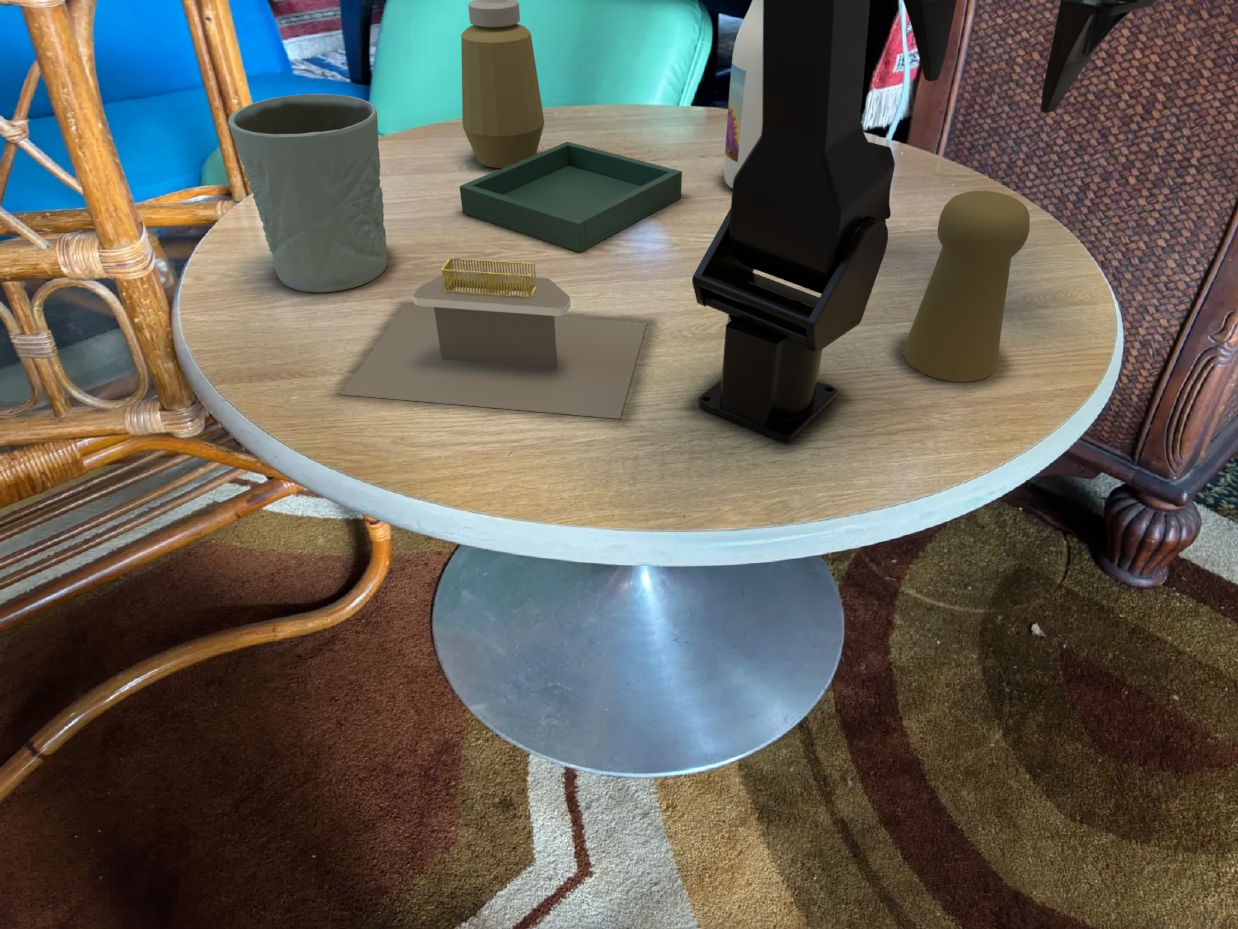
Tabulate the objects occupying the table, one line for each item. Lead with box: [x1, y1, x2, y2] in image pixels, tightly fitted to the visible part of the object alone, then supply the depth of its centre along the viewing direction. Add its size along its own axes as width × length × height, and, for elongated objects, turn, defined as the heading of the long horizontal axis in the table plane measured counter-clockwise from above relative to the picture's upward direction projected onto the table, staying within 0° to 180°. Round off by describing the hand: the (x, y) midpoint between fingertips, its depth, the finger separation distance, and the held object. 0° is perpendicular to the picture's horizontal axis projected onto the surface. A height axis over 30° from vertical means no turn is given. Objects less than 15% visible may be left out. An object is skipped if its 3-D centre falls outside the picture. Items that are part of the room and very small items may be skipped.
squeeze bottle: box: [460, 0, 545, 169], centre depth 85 cm, size 8×8×18 cm
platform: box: [340, 257, 647, 420], centre depth 58 cm, size 12×18×7 cm, turn 81°
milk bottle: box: [723, 0, 763, 190], centre depth 79 cm, size 8×8×20 cm
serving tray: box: [459, 141, 683, 253], centre depth 80 cm, size 15×14×2 cm
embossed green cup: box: [227, 93, 389, 293], centre depth 68 cm, size 10×10×12 cm
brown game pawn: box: [902, 190, 1031, 383], centre depth 57 cm, size 6×6×11 cm
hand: (986, 95), depth 61 cm, fingers open, 9 cm apart
